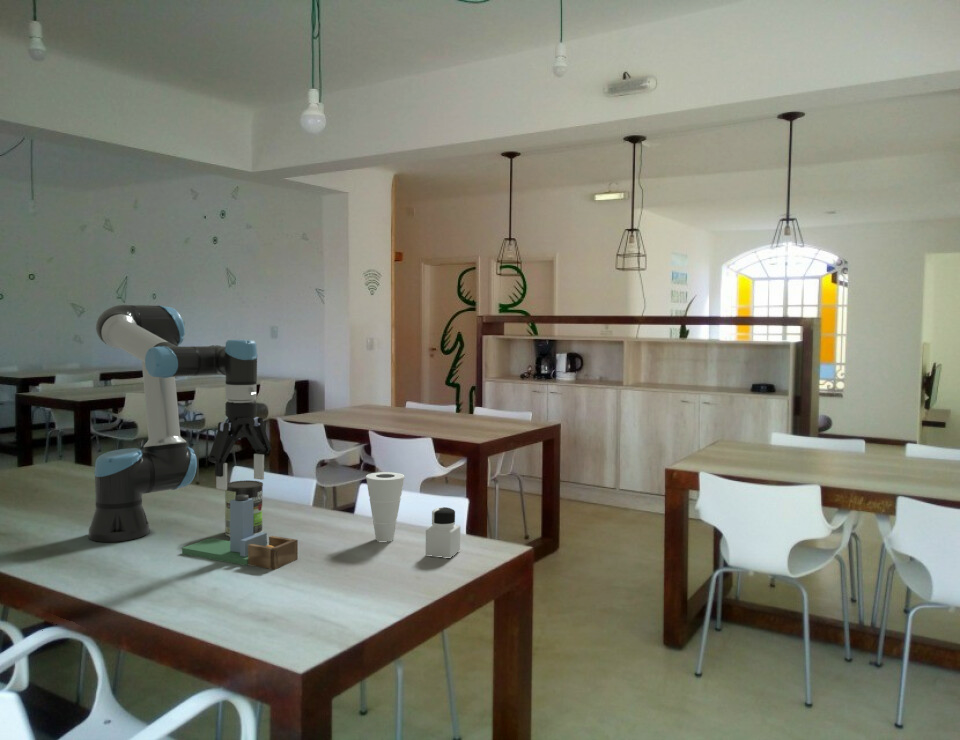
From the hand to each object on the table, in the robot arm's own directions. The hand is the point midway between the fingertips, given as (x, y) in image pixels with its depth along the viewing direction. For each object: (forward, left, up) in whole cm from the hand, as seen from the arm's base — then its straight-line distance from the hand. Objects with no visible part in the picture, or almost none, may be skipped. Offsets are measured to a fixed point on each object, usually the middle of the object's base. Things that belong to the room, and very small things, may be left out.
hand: (240, 484), depth 187 cm
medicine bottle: (+45, +25, -19) cm, 55 cm away
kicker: (+2, 0, -17) cm, 17 cm away
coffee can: (-14, +17, -19) cm, 29 cm away
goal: (+10, 0, -19) cm, 21 cm away
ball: (+9, 0, -17) cm, 19 cm away
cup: (+25, +29, -19) cm, 43 cm away
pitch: (-4, 0, -19) cm, 19 cm away
